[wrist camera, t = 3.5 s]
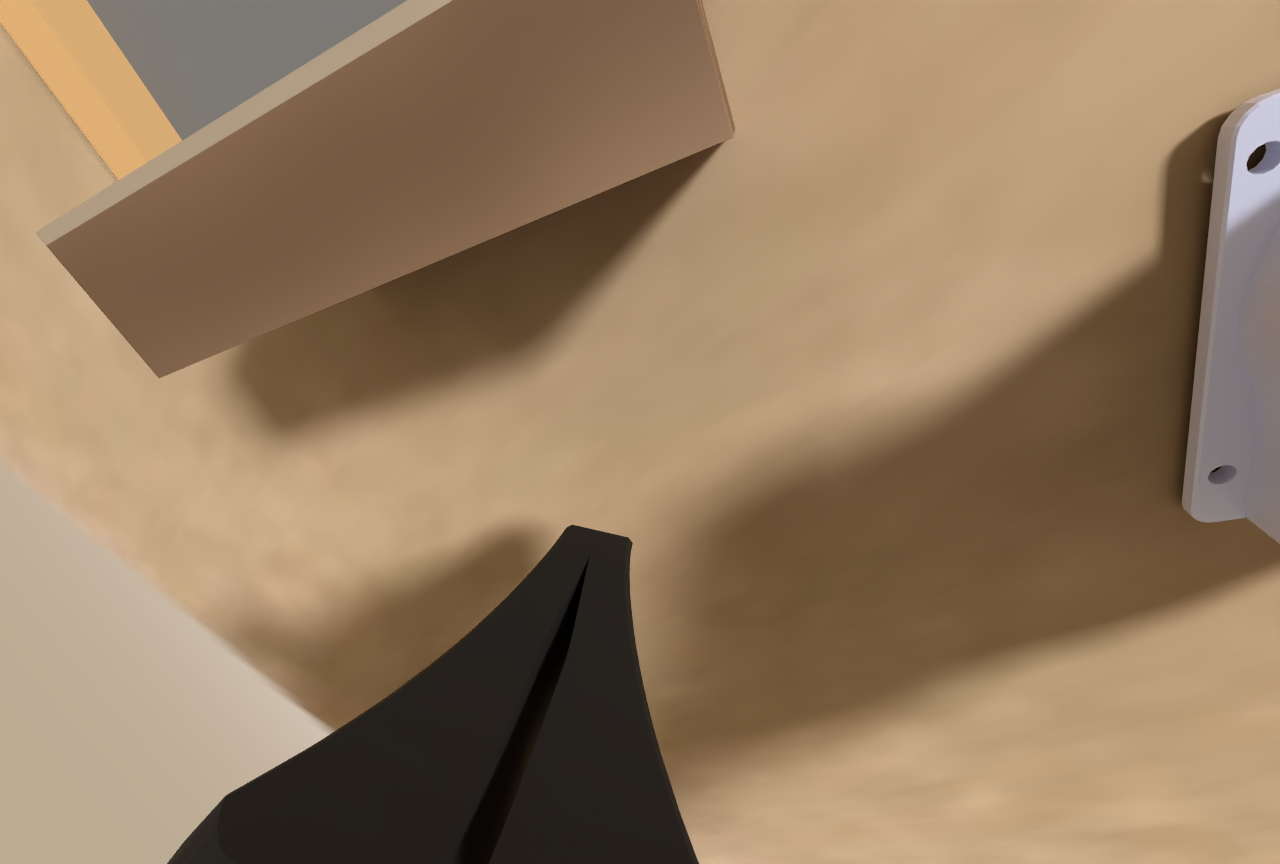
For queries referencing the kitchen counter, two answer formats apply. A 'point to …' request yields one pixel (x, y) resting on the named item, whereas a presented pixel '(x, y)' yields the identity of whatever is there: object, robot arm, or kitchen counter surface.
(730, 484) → the kitchen counter surface
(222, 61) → the chalkboard
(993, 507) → the kitchen counter surface
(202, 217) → the slab
